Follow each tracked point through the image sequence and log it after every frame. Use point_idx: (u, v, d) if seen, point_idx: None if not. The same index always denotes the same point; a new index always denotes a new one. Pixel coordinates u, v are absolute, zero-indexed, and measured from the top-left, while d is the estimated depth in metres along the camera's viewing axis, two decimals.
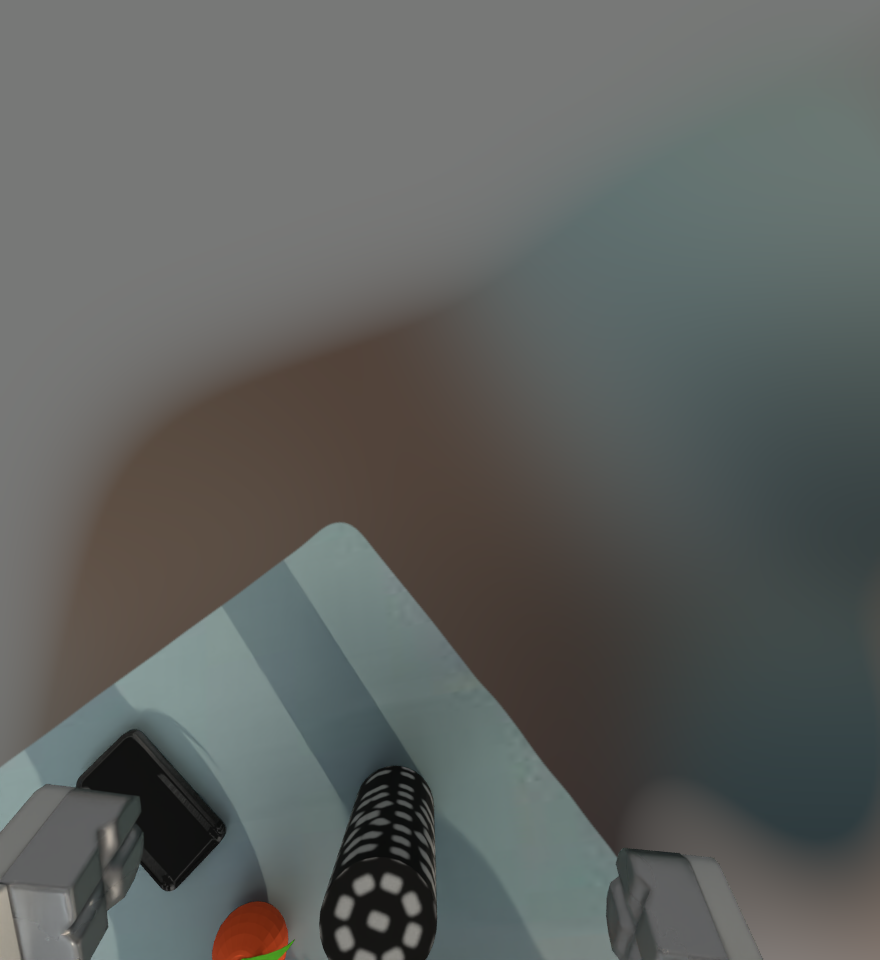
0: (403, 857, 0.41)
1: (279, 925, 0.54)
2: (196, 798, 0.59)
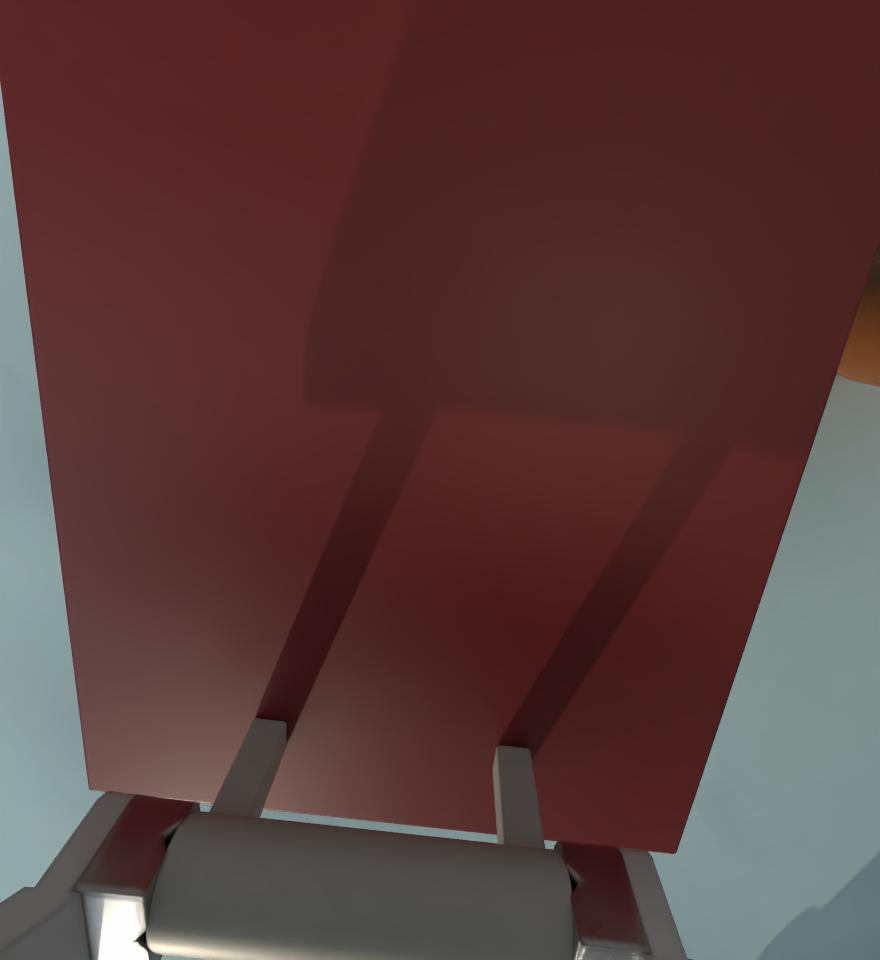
0: None
1: None
2: None
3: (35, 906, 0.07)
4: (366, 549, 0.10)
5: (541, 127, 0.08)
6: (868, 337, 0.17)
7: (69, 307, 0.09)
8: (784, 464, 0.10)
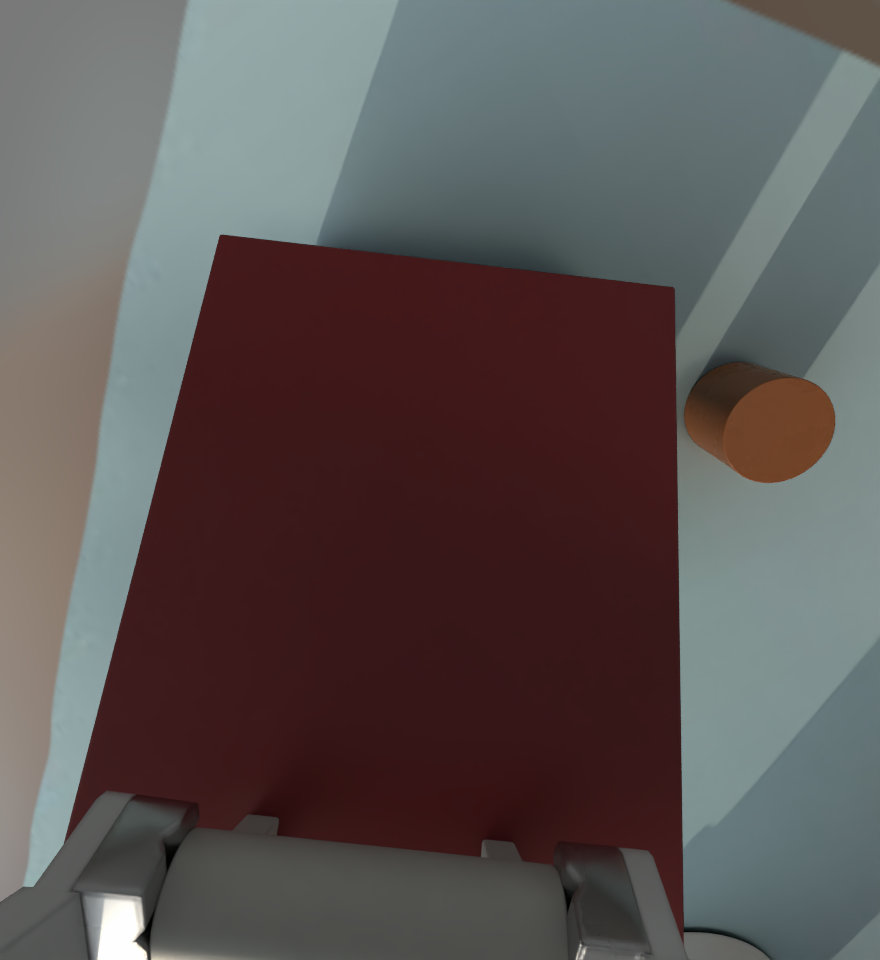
0: None
1: None
2: None
3: (33, 906, 0.07)
4: (370, 627, 0.13)
5: (483, 370, 0.15)
6: (707, 434, 0.26)
7: (191, 453, 0.14)
8: (664, 556, 0.14)
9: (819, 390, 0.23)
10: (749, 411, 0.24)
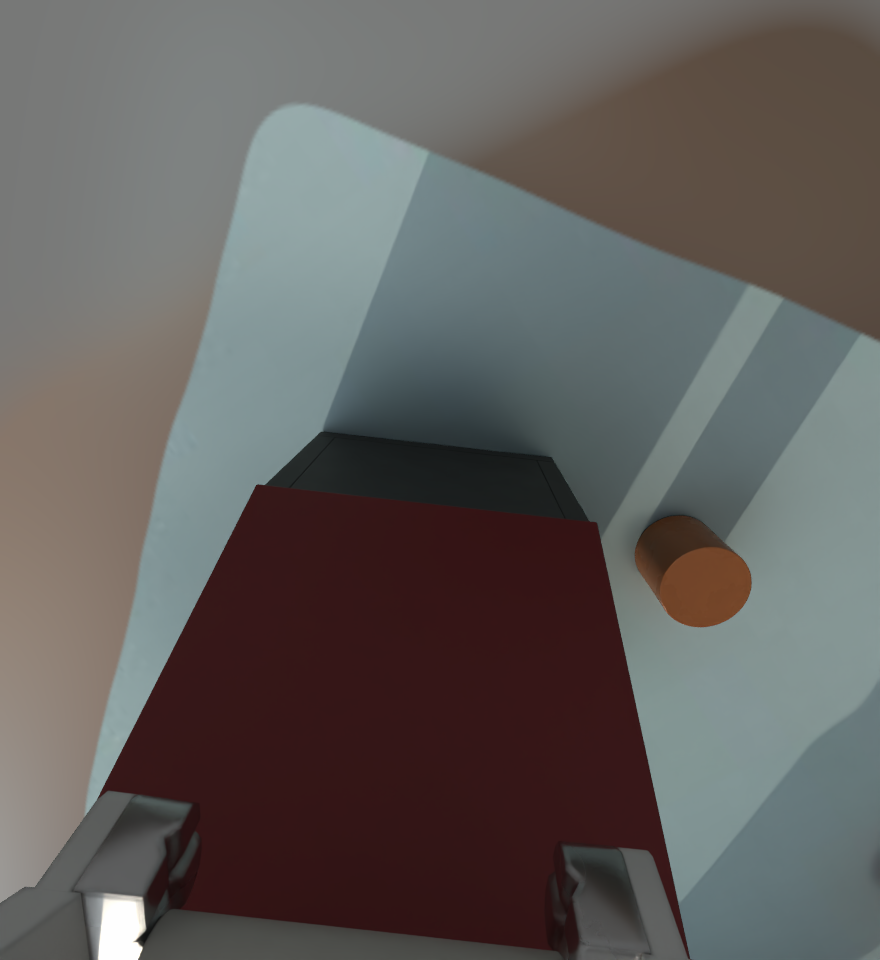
0: None
1: None
2: None
3: (35, 906, 0.07)
4: (356, 780, 0.13)
5: (456, 571, 0.19)
6: (650, 582, 0.31)
7: (208, 628, 0.16)
8: (625, 715, 0.15)
9: (736, 557, 0.28)
10: (680, 572, 0.29)
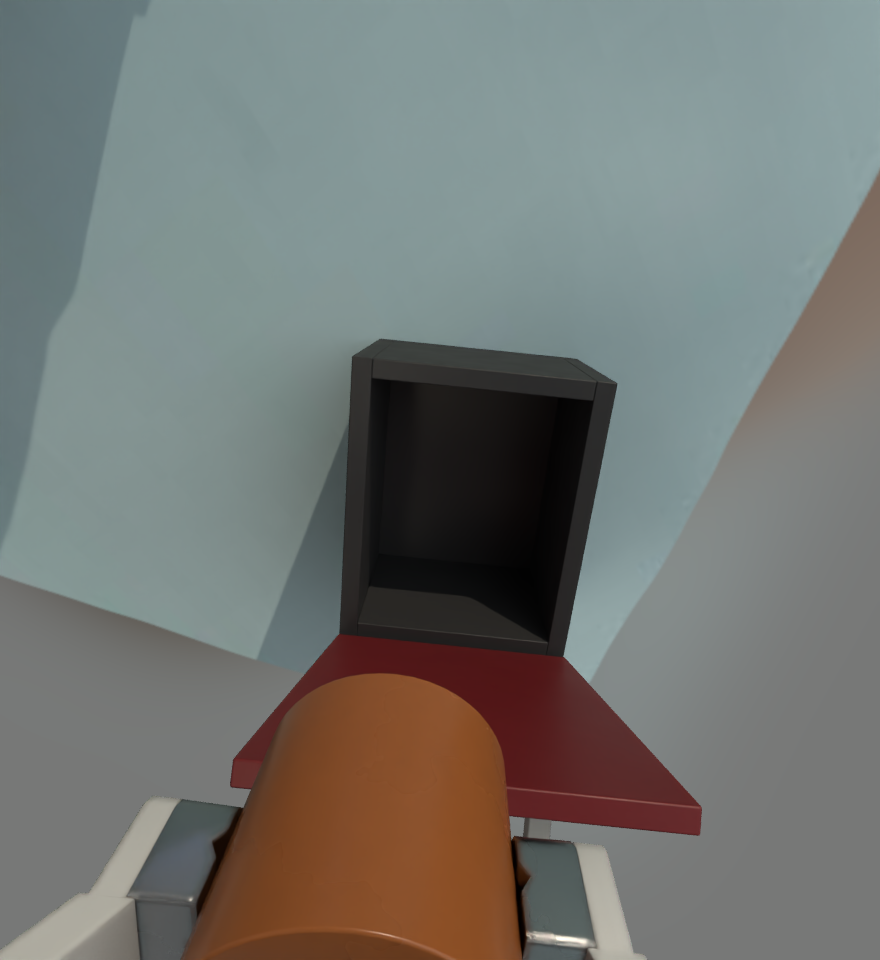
0: None
1: None
2: None
3: (91, 912, 0.07)
4: None
5: None
6: (315, 803, 0.08)
7: None
8: None
9: None
10: None
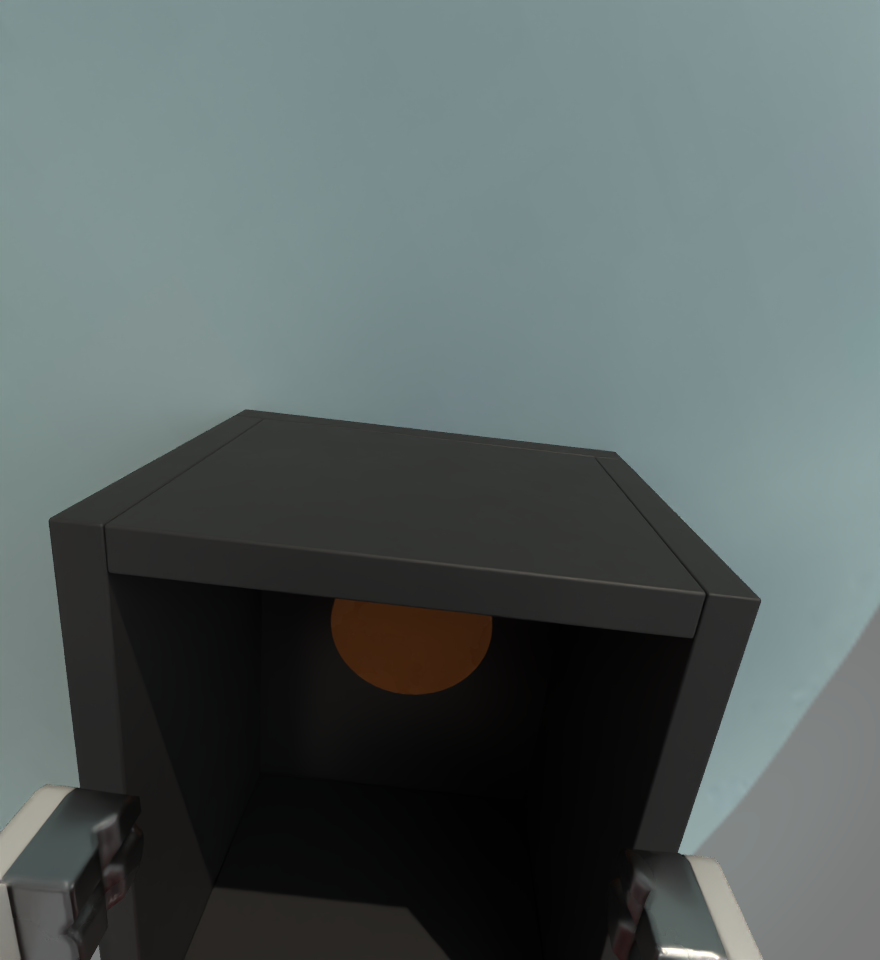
0: None
1: None
2: None
3: None
4: None
5: None
6: None
7: None
8: None
9: (473, 667, 0.16)
10: None
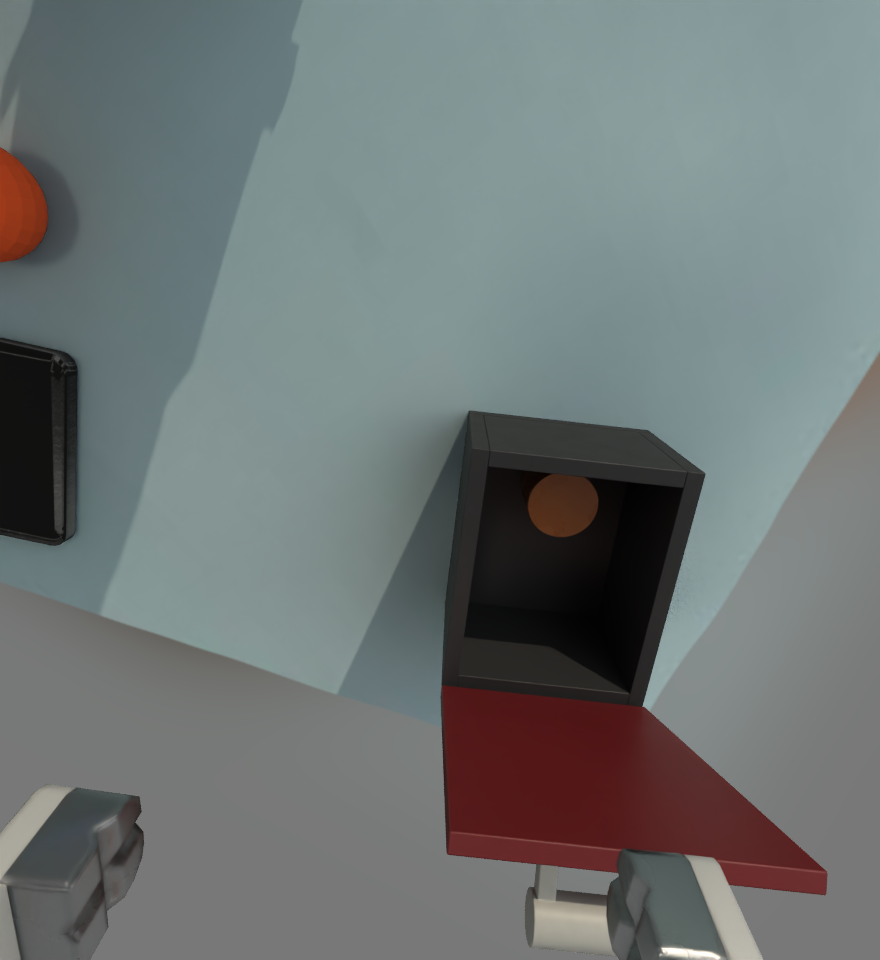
0: None
1: None
2: None
3: None
4: None
5: None
6: None
7: None
8: None
9: (588, 523, 0.37)
10: (578, 485, 0.37)
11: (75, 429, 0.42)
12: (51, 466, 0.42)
